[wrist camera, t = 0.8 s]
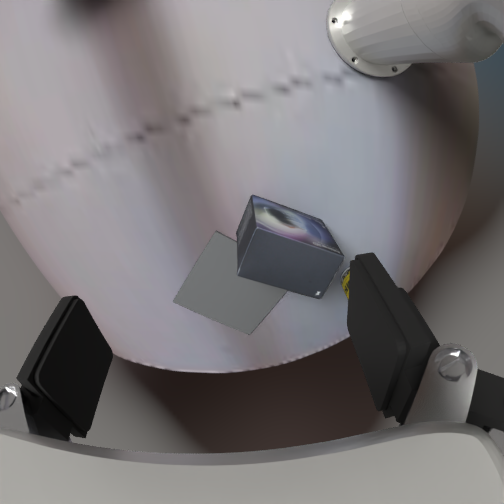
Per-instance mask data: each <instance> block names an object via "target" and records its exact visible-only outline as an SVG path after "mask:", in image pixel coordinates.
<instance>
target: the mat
mask: <svg viewBox="0 0 504 504" xmlns="http://www.w3.org/2000/svg"><path fill="white" fill-rule="evenodd" d="M286 292H287V290H284V289H281V288H277V287H274V286H270V285H267V284H263V283H260V282H256V281H253V280H249V279H246V278H242V277H239V276H237V241H235V240H233V239H231V238H229V237H227V236H225V235H223V234H221V233H220V232H218V231H215V233H214V235H213V236H212V238H211V239H210V241H209V243H208V244H207V246H206V247H205V249H204V251H203V252H202V254H201V256H200V257H199V259H198V260H197V262H196V264H195V265H194V267H193V269H192V270H191V272H190V274H189V275H188V277H187V279H186V280H185V282H184V283H183V285H182V287H181V288H180V290H179V292H178V294H177V295H176V297H175V299H174V300H173V302H174V303H176V304H178V305H181V306H183V307H185V308H187V309H189V310H192V311H194V312H196V313H198V314H201V315H203V316H205V317H208V318H210V319H212V320H214V321H217V322H219V323H221V324H224V325H226V326H229V327H231V328H233V329H236V330H238V331H241V332H243V333H246V334H248V335H250V334H251V332H252V331H253V330H254V329H255V328H256V327H257V326H258V324H259V323H260V322H261V321H262V320H263V319H264V318H265V316H266V315H267V314H268V313H269V312H270V311H271V309H272V308H273V307H274V306H275V305H276V303H277V302H278V301H279V300H280V299H281V298H282V296H283V295H284V294H285V293H286Z"/></svg>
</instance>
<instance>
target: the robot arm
mask: <svg viewBox="0 0 504 504" xmlns="http://www.w3.org/2000/svg"><path fill="white" fill-rule="evenodd" d="M332 21H334V24H333V23H332ZM326 27H327V32H328V36H329V39H330V41H331V43H332V46H333V47H334V49H335V50H336V52H337V53H338V54H339V56H340V57H341V58H342V59H343V60H344V61H345V62H346V63H348V64H349V65H350V66H351V67H353V68H354V69H356V70H358V71H359V72H362V73H364V74H367V75H371V76H375V77H390V76H395V75H398V74H400V73H402V72H404V71H405V70H406V69H407V68H409V67H410V66H411V64H412V63H473V62H478V61H482V60H485V59H487V58H488V57H490V56H491V55H493V54H494V53H495V52H496V51H497V50H498V49H499V47H500V46H501V45H502V43H504V0H334V1H333V3H332V4H331V6H330V8H329V10H328V13H327V18H326ZM352 59H354V62H352ZM392 69H393V71H392ZM347 326H348V331H349V334H350V337H351V339H352V342H353V344H354V347H355V350H356V353H357V355H358V358H359V361H360V363H361V366H362V369H363V372H364V374H365V377H366V380H367V383H368V386H369V388H370V391H371V395H372V397H373V400H374V403H375V406H376V409H377V410H378V411H381V410H382V411H383V414H384V416H385V418H388V417H391V416H395V418H396V421H397V422H399V423H400V424H399V426H398V427H393V428H388V429H384V430H380V431H375V432H370V433H365V434H361V435H357V436H352V437H348V438H343V439H338V440H333V441H328V442H322V443H316V444H309V445H303V446H296V447H289V448H281V449H273V450H264V451H253V452H240V453H219V454H171V453H151V452H138V451H126V450H118V449H110V448H102V447H95V446H89V445H83V444H77V443H72V441H71V439H70V437H69V436H70V433H71V434H72V435H73V436H75V437H82V438H86V434H87V431H89V430H90V428H91V425H92V421H93V418H94V415H95V411H96V408H97V404H98V401H99V398H100V395H101V392H102V388H103V385H104V382H105V379H106V376H107V373H108V370H109V367H110V364H111V361H112V358H113V353H112V350H111V348H110V346H109V345H108V343H107V341H106V340H105V338H104V336H103V335H102V333H101V331H100V330H99V328H98V326H97V325H96V323H95V321H94V319H93V318H92V316H91V314H90V312H89V310H88V309H87V307H86V305H85V303H84V301H83V300H82V299H80V298H79V297H78V296H67V297H63V298H62V299H61V300H60V302H59V304H58V305H57V307H56V308H55V310H54V312H53V313H52V315H51V316H50V318H49V320H48V322H47V323H46V325H45V326H44V328H43V330H42V331H41V333H40V335H39V337H38V339H37V340H36V342H35V344H34V346H33V348H32V349H31V351H30V353H29V355H28V357H27V358H26V360H25V362H24V364H23V366H22V368H21V370H20V372H19V374H18V376H17V380H18V381H19V382H20V383H21V384H22V386H21V388H20V387H19V386H18V385H17V384H15V383H8V384H5V385H4V386H2V387H1V388H0V504H504V378H502V377H499V376H496V375H493V374H491V373H488V372H485V371H482V370H479V369H477V361H476V359H475V356H474V355H473V354H472V352H471V351H469V350H468V349H467V348H466V347H464V346H461V345H459V344H453V343H450V344H443V345H441V346H440V345H439V343H438V341H437V340H436V338H435V336H434V335H433V333H432V332H431V330H430V328H429V327H428V325H427V324H426V322H425V320H424V319H423V317H422V316H421V314H420V312H419V311H418V309H417V308H416V306H415V305H414V303H413V302H412V300H411V299H410V297H409V295H408V294H407V292H406V291H405V290H404V289H403V288H397V286H396V285H395V283H394V282H393V280H392V279H391V277H390V276H389V274H388V273H387V271H386V270H385V268H384V267H383V265H382V264H381V263H380V261H379V260H378V258H377V257H376V255H375V254H374V253H366V254H360V255H356V257H355V260H352V261H350V276H349V299H348V315H347Z"/></svg>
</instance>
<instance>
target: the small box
mask: <svg viewBox="0 0 504 504" xmlns="http://www.w3.org/2000/svg"><path fill="white" fill-rule="evenodd" d="M236 235H237V276H239V277H242V278H246V279H249V280H253V281H256V282H260V283H263V284H267V285H270V286H274V287H277V288H281V289H284V290H288V291H291V292H295V293H299V294H302V295H306V296H310V297H313V298H317V299H322V297H323V296H324V294H325V292H326V290H327V289H328V287H329V285H330V284H331V282H332V280H333V278H334V277H335V275H336V273H337V272H338V270H339V268H340V266H341V264H342V262H343V261H344V259H345V256H344V255H343V254H342V252H341V250H340V249H339V247H338V245H337V244H336V242H335V241H334V239H333V237H332V236H331V234H330V233H329V231H328V229H327V228H326V226H325V225H324V223H323V221H322V220H321V219H318V218H315V217H313V216H310V215H307V214H305V213H302V212H299V211H297V210H294V209H291V208H288V207H286V206H283V205H280V204H278V203H275V202H272V201H269V200H266V199H264V198H261V197H258V196H255V195H251V197H250V200H249V202H248V205H247V207H246V210H245V212H244V214H243V217H242V220H241V222H240V224H239V227H238V230H237V232H236Z"/></svg>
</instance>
